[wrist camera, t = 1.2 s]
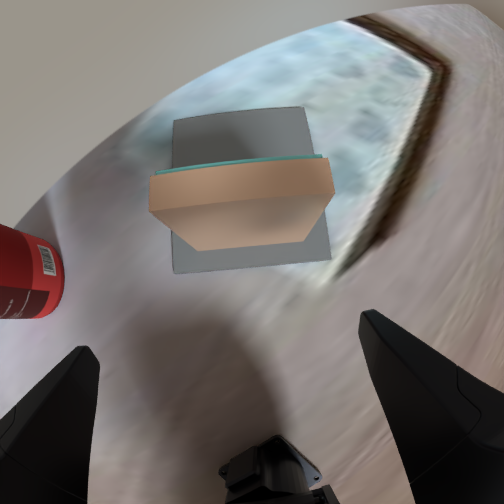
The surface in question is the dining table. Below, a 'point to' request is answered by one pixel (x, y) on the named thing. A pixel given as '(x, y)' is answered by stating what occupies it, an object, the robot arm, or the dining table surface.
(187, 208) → the tile
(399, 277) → the dining table surface
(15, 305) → the canned food
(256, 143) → the mat
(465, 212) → the dining table surface
